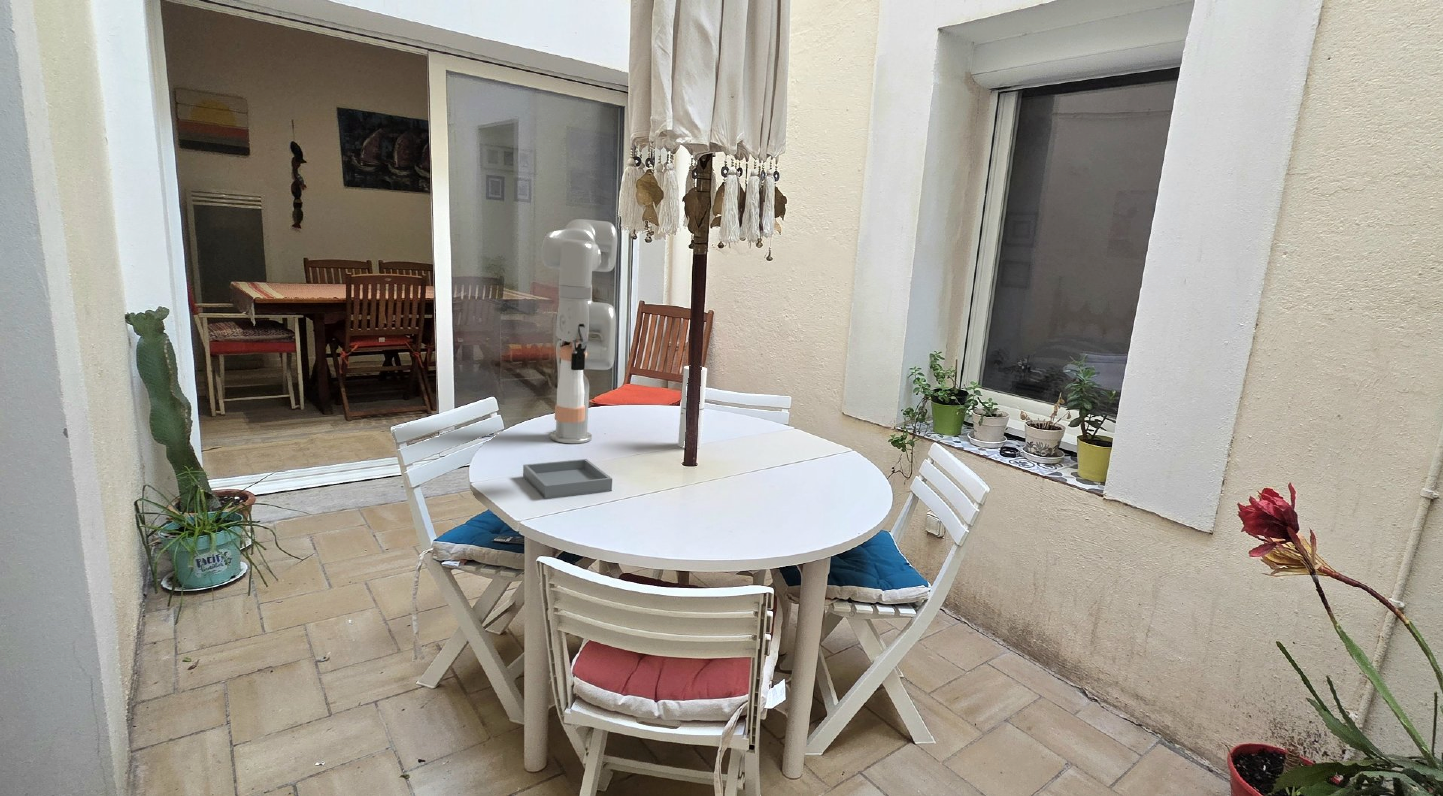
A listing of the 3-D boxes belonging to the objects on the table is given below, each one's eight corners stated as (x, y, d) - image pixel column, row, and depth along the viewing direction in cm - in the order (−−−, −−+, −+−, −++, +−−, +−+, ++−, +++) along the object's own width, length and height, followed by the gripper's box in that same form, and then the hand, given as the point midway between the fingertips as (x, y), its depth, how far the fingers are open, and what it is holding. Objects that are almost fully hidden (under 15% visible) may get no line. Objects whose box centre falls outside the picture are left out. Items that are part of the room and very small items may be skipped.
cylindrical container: (690, 450, 215) (697, 370, 210) (673, 445, 219) (679, 367, 214) (705, 447, 220) (711, 369, 215) (687, 441, 225) (694, 365, 220)
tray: (523, 476, 179) (523, 464, 178) (585, 470, 188) (586, 458, 187) (545, 498, 165) (545, 485, 164) (611, 490, 174) (612, 478, 174)
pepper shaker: (580, 415, 178) (584, 340, 174) (587, 422, 172) (591, 345, 168) (551, 415, 175) (554, 339, 171) (558, 423, 168) (561, 344, 164)
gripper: (547, 289, 172) (544, 360, 175) (573, 296, 158) (569, 374, 161) (576, 290, 176) (573, 360, 180) (604, 297, 162) (600, 373, 165)
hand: (571, 366), depth 170 cm, fingers closed on pepper shaker, 7 cm apart
